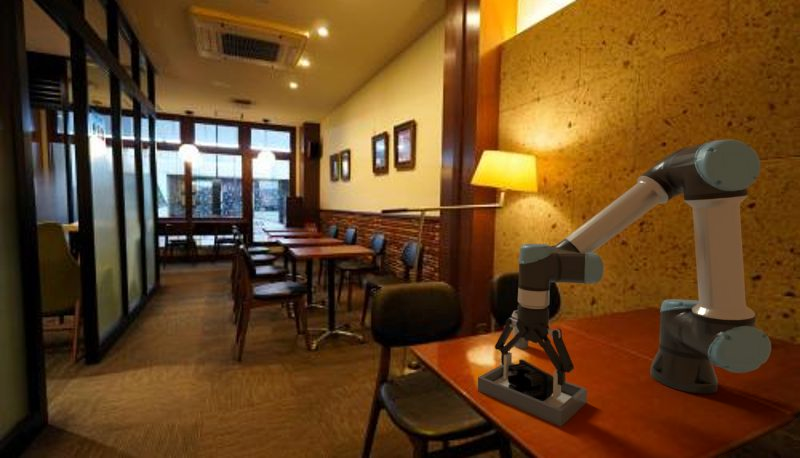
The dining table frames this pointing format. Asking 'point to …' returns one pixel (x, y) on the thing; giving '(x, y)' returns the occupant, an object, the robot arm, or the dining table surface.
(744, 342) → the robot arm
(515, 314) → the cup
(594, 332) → the dining table surface
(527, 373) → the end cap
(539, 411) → the shallow grey tray
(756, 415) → the dining table surface
